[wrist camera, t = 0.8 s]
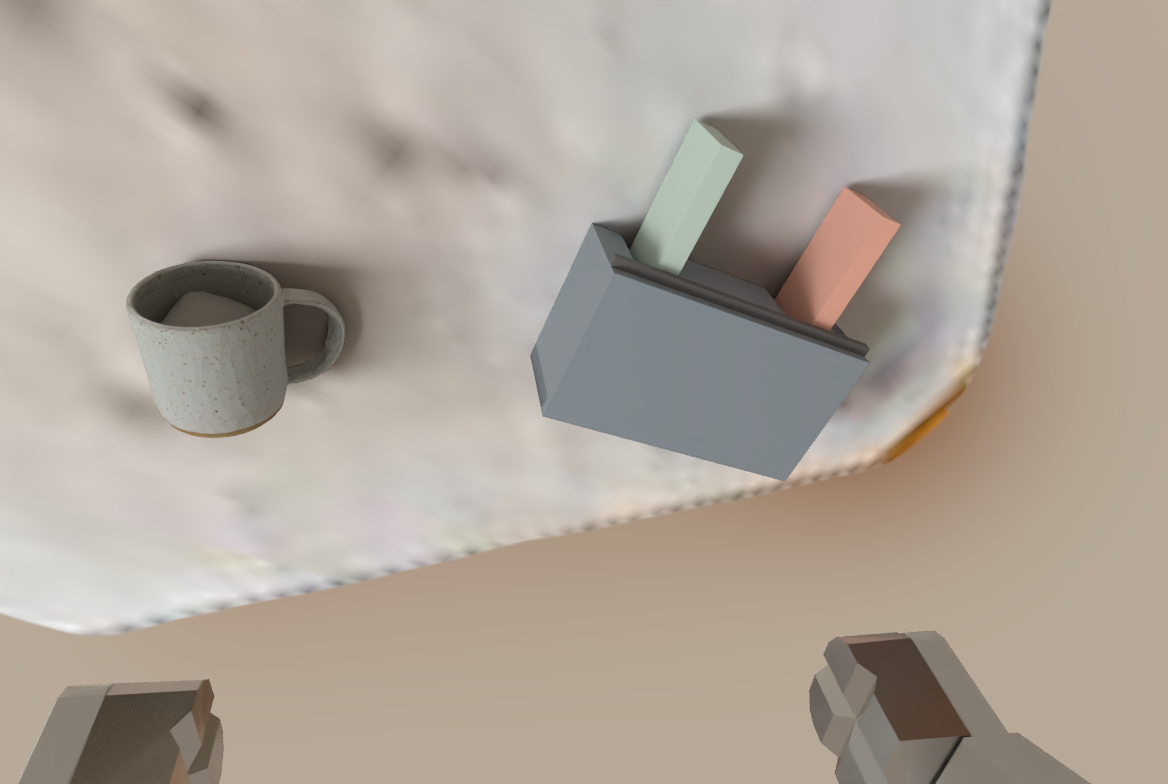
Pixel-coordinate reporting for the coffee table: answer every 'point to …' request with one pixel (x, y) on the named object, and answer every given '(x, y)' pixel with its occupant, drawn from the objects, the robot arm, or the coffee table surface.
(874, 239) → the pink stick
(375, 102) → the coffee table surface
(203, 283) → the ceramic mug
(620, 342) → the grey rectangular block
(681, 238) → the mint green upright slab
